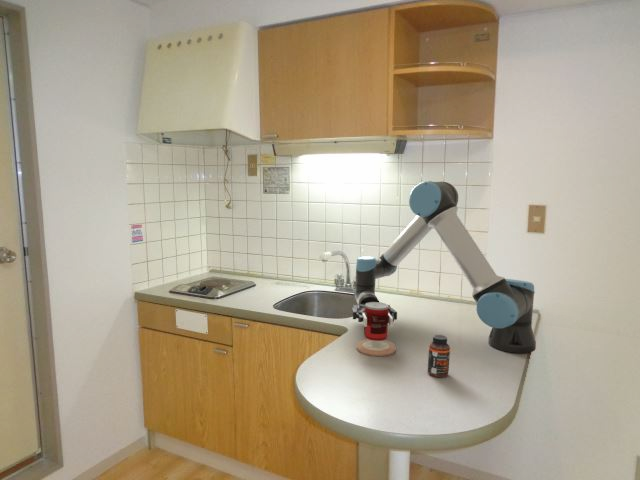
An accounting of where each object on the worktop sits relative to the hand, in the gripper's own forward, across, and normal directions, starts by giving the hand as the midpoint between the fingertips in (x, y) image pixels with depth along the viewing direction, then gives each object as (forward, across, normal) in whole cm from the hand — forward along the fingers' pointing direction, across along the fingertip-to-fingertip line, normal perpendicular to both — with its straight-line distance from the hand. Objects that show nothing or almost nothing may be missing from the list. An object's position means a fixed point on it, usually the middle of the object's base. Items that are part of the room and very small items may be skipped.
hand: (378, 322), depth 150 cm
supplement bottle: (+15, -15, -11) cm, 24 cm away
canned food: (-5, 0, -7) cm, 8 cm away
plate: (-5, 0, -11) cm, 12 cm away
